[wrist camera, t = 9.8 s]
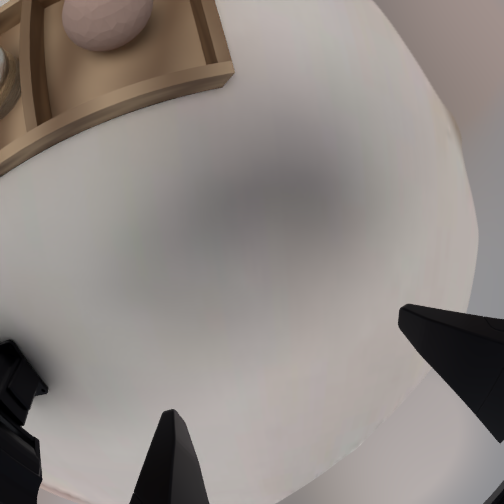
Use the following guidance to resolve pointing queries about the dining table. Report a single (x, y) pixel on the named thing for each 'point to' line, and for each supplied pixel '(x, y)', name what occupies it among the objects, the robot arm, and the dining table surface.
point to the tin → (9, 82)
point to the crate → (102, 70)
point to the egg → (104, 22)
